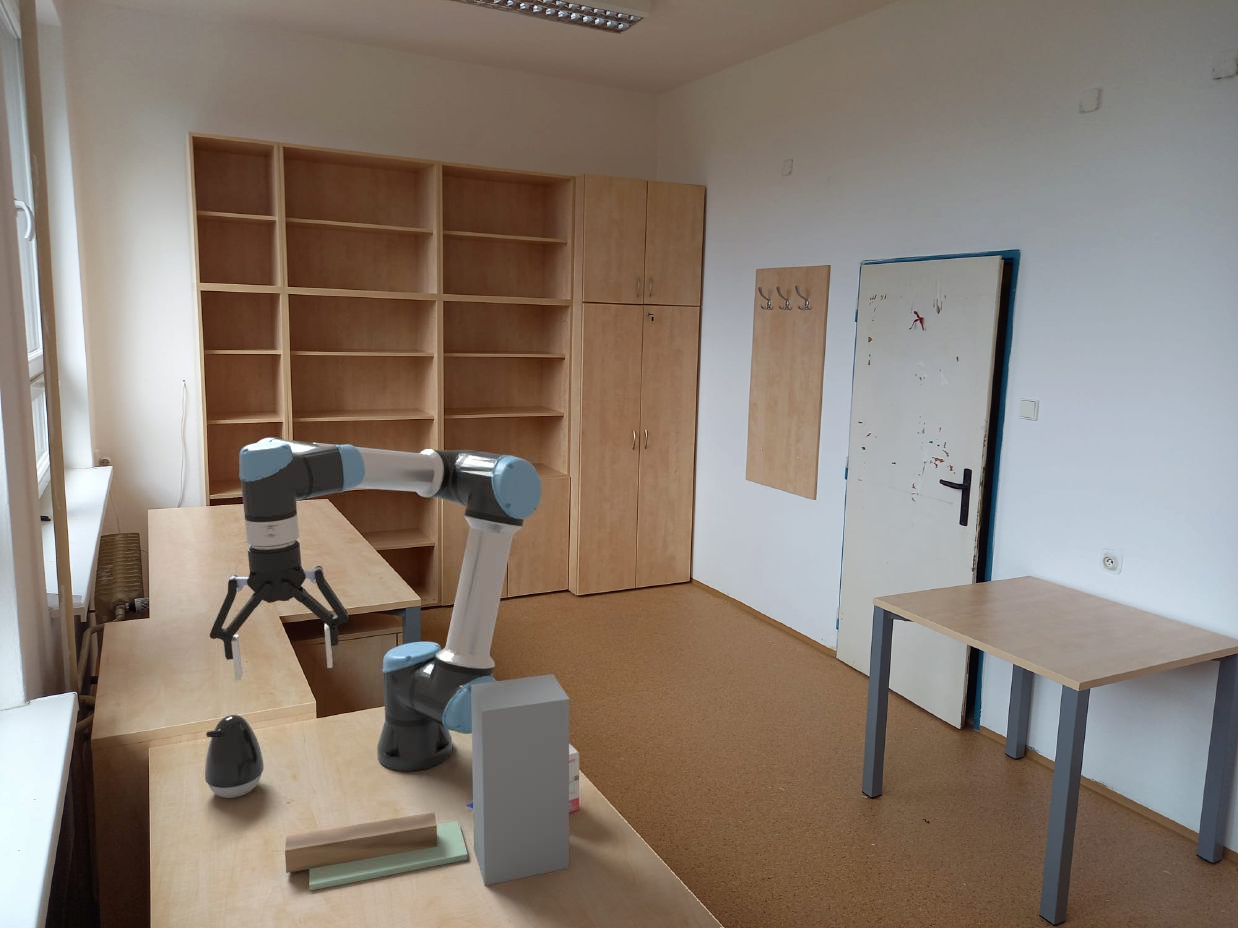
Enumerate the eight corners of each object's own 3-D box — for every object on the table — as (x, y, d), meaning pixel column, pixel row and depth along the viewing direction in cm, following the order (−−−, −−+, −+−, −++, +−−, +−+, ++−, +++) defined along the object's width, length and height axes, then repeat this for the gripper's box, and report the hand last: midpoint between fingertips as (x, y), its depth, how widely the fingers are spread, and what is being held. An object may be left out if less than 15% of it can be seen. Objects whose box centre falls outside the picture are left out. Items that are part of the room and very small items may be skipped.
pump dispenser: (193, 797, 160) (187, 722, 157) (238, 771, 169) (233, 699, 167) (232, 811, 156) (226, 734, 153) (276, 783, 165) (272, 710, 162)
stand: (473, 848, 146) (471, 684, 141) (553, 833, 150) (553, 673, 145) (484, 885, 137) (482, 711, 131) (568, 867, 141) (569, 698, 136)
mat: (310, 852, 144) (309, 847, 144) (458, 825, 152) (458, 820, 152) (309, 890, 135) (309, 884, 135) (467, 859, 143) (467, 853, 143)
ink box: (569, 797, 162) (569, 739, 160) (580, 810, 158) (580, 751, 155) (526, 809, 158) (526, 750, 156) (537, 823, 153) (536, 762, 151)
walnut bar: (287, 857, 141) (286, 835, 141) (434, 832, 148) (434, 812, 148) (286, 872, 137) (284, 850, 137) (437, 846, 145) (436, 825, 144)
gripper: (180, 558, 124) (195, 692, 129) (358, 541, 132) (367, 668, 136) (188, 544, 131) (202, 672, 136) (356, 528, 139) (365, 650, 143)
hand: (285, 670), depth 136 cm, fingers open, 13 cm apart
